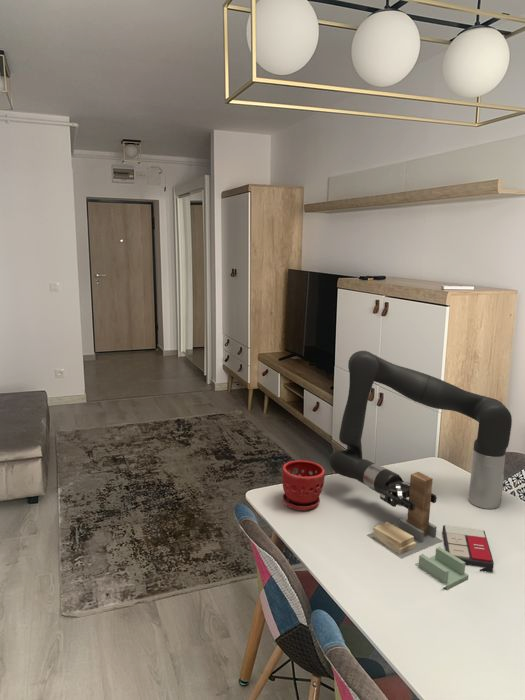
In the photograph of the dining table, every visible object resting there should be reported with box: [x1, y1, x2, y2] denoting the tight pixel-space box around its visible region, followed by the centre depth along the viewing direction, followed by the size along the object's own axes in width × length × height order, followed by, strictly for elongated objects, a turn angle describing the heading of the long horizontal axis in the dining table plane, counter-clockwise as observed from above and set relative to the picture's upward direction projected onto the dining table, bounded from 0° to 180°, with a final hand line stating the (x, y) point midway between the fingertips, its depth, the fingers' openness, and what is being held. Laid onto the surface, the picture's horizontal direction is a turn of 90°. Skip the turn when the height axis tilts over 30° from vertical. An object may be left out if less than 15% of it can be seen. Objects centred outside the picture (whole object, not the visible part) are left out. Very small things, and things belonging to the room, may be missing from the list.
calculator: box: [442, 524, 495, 573], centre depth 144 cm, size 11×4×15 cm
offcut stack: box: [372, 521, 416, 554], centre depth 146 cm, size 6×10×3 cm, turn 32°
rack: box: [366, 518, 443, 559], centre depth 148 cm, size 16×13×4 cm
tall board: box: [406, 471, 433, 537], centre depth 149 cm, size 3×5×17 cm, turn 32°
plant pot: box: [281, 459, 326, 511], centre depth 168 cm, size 13×13×12 cm
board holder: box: [414, 546, 469, 591], centre depth 134 cm, size 8×10×4 cm
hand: (424, 503), depth 147 cm, fingers open, 8 cm apart
